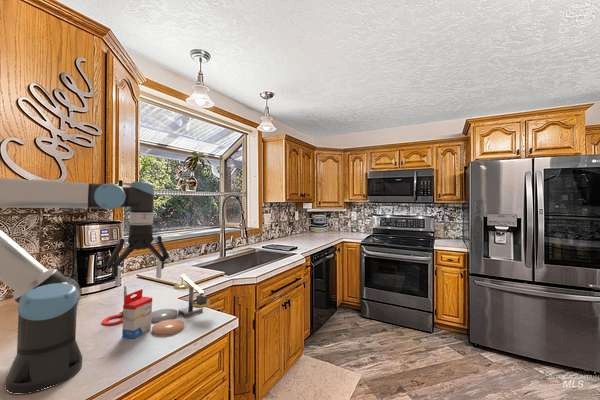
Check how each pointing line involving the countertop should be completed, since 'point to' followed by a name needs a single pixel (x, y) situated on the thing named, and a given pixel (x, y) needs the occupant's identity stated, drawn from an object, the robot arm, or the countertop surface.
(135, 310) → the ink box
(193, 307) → the balance
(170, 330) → the dish low
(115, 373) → the countertop surface
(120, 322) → the tow hook
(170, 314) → the dish high
